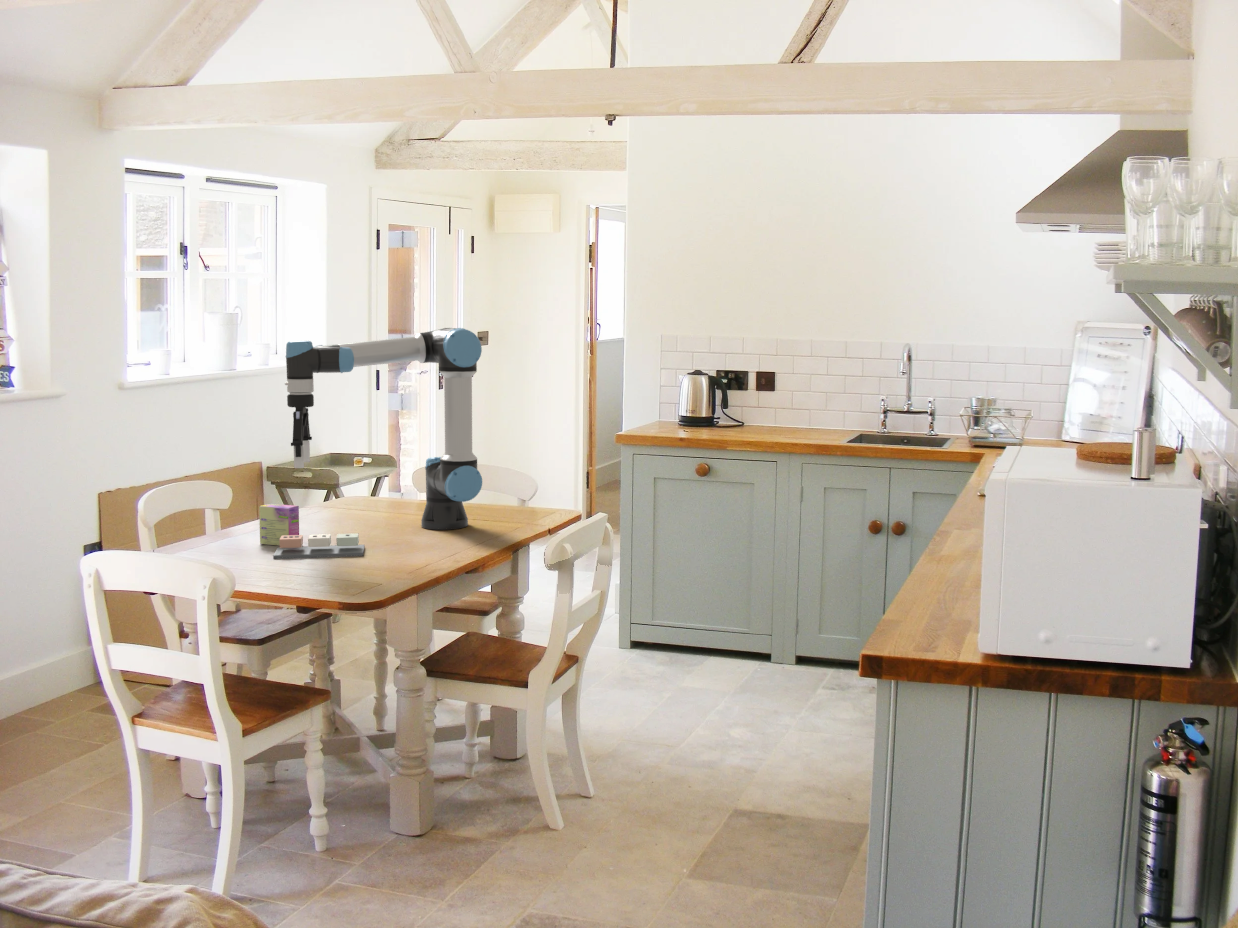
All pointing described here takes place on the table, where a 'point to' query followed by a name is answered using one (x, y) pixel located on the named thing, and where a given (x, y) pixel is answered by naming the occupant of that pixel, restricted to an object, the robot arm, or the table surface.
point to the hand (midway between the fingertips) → (302, 465)
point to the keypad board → (319, 552)
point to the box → (277, 522)
